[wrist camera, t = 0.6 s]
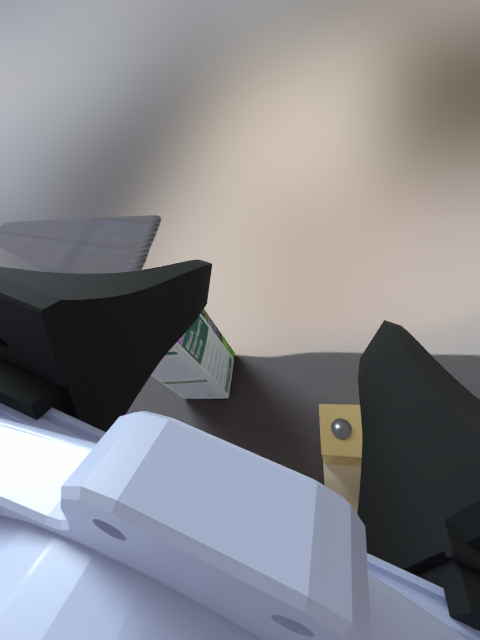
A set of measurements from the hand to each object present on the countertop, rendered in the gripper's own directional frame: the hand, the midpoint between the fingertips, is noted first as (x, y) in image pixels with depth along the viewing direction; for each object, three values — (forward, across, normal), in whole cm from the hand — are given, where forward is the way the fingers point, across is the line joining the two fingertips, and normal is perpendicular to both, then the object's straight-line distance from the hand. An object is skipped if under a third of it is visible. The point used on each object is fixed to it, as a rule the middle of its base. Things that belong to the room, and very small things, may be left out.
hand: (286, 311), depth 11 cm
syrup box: (+11, +6, +19) cm, 22 cm away
